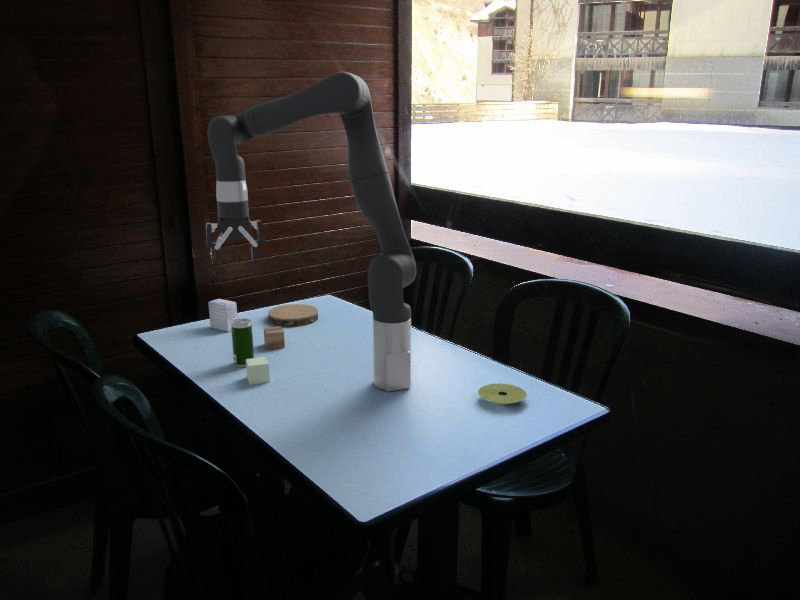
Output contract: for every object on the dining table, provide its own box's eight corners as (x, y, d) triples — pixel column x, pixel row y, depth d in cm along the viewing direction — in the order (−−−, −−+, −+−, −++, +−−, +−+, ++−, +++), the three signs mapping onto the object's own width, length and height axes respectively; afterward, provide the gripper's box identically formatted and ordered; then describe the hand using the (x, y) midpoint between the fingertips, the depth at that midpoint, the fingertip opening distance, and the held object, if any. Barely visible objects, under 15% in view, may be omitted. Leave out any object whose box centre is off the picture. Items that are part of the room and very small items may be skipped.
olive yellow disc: (486, 412, 148) (486, 405, 148) (471, 392, 159) (472, 385, 158) (533, 408, 151) (534, 400, 150) (515, 388, 161) (516, 381, 161)
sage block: (269, 382, 165) (268, 363, 164) (249, 384, 164) (248, 366, 162) (266, 374, 170) (265, 356, 168) (246, 377, 168) (245, 359, 167)
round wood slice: (272, 330, 204) (272, 321, 204) (265, 315, 219) (264, 306, 218) (322, 324, 209) (322, 315, 209) (312, 310, 224) (312, 302, 223)
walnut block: (284, 348, 189) (284, 331, 187) (267, 350, 187) (266, 333, 186) (281, 342, 193) (280, 326, 192) (264, 344, 191) (263, 328, 190)
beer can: (240, 369, 173) (237, 325, 170) (230, 363, 177) (226, 321, 173) (258, 363, 177) (255, 321, 173) (247, 358, 180) (244, 316, 177)
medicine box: (238, 328, 205) (237, 302, 202) (228, 332, 201) (226, 305, 199) (220, 324, 209) (218, 298, 206) (210, 328, 205) (207, 301, 203)
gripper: (203, 202, 159) (209, 267, 163) (263, 199, 163) (267, 263, 168) (201, 198, 165) (207, 261, 170) (259, 195, 170) (262, 257, 175)
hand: (236, 262), depth 169 cm, fingers open, 8 cm apart
